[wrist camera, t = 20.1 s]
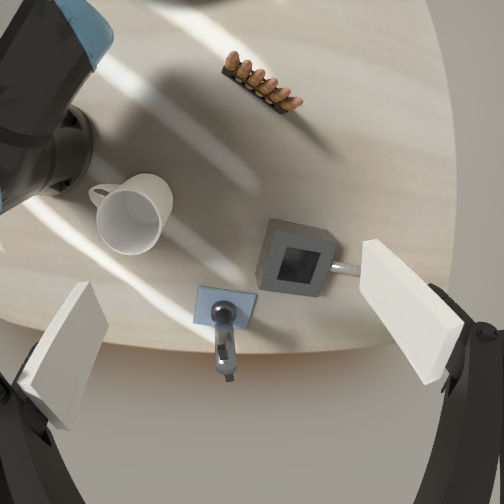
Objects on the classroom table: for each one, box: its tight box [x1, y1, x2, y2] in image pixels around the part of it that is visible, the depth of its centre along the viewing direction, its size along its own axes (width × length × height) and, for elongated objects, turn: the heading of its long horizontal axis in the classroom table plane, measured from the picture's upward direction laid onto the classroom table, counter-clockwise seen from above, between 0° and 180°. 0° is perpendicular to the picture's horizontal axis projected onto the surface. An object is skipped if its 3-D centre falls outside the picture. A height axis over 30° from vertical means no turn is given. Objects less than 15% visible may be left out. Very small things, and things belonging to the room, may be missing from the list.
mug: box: [88, 173, 173, 255], centre depth 37 cm, size 9×12×11 cm
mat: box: [193, 286, 256, 330], centre depth 52 cm, size 10×8×1 cm
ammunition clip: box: [222, 51, 303, 114], centre depth 31 cm, size 11×2×12 cm, turn 53°
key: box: [211, 300, 237, 382], centre depth 45 cm, size 7×4×14 cm, turn 7°
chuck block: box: [255, 218, 361, 297], centre depth 47 cm, size 23×10×5 cm, turn 77°
